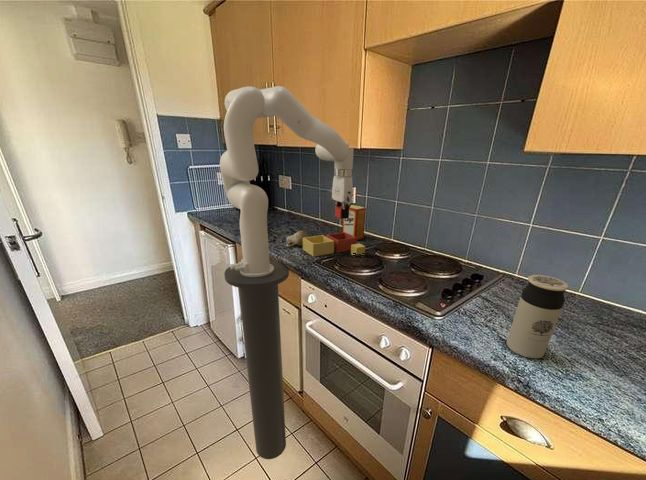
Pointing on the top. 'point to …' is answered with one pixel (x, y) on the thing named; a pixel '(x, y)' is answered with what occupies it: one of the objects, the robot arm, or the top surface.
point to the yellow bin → (318, 245)
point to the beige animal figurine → (296, 239)
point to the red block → (338, 212)
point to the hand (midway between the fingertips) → (341, 216)
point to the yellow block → (357, 249)
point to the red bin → (342, 241)
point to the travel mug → (536, 316)
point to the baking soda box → (355, 222)
